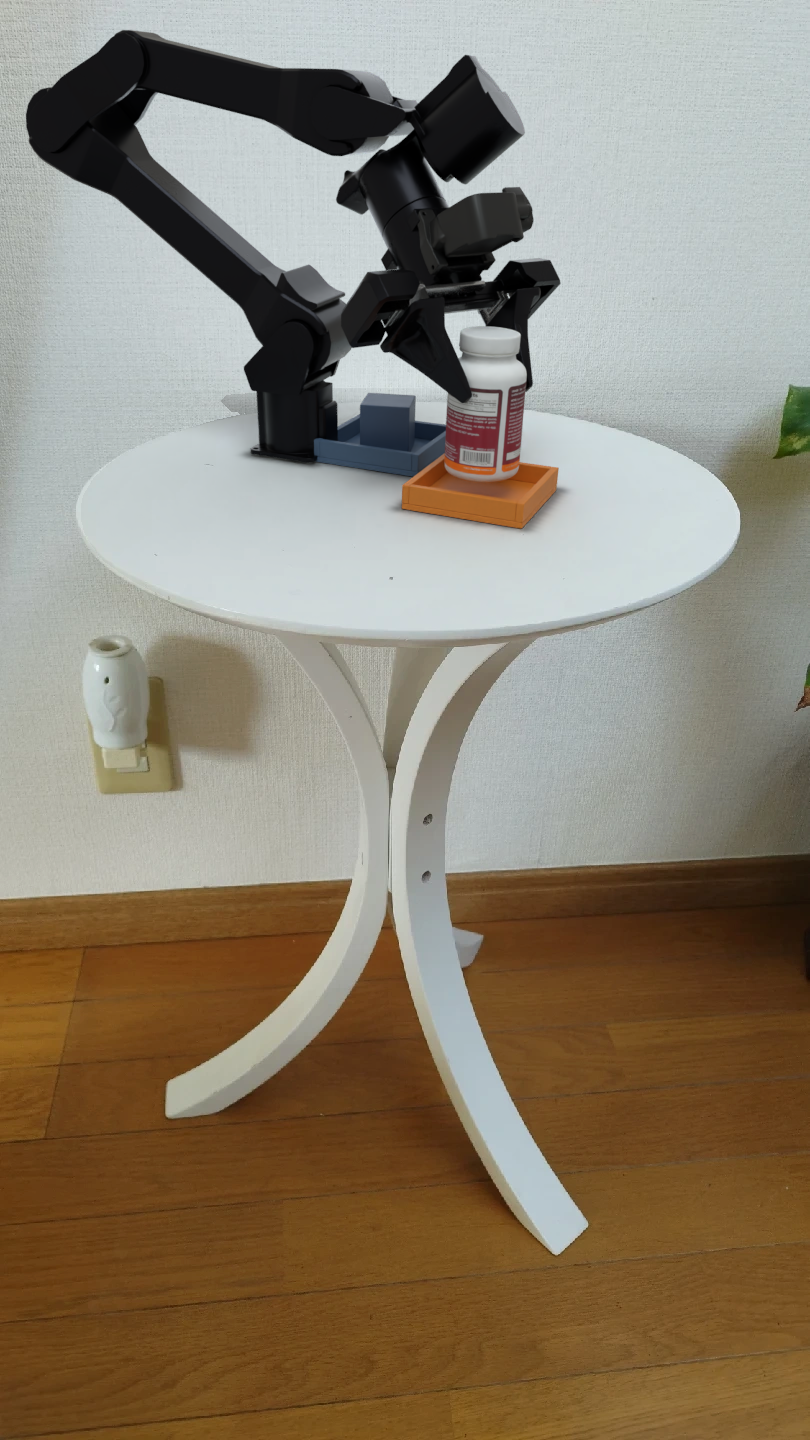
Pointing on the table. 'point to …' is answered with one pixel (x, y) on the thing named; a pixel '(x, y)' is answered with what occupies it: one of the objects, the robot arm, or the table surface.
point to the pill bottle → (487, 407)
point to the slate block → (388, 421)
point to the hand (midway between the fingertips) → (498, 394)
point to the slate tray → (382, 449)
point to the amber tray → (481, 494)
